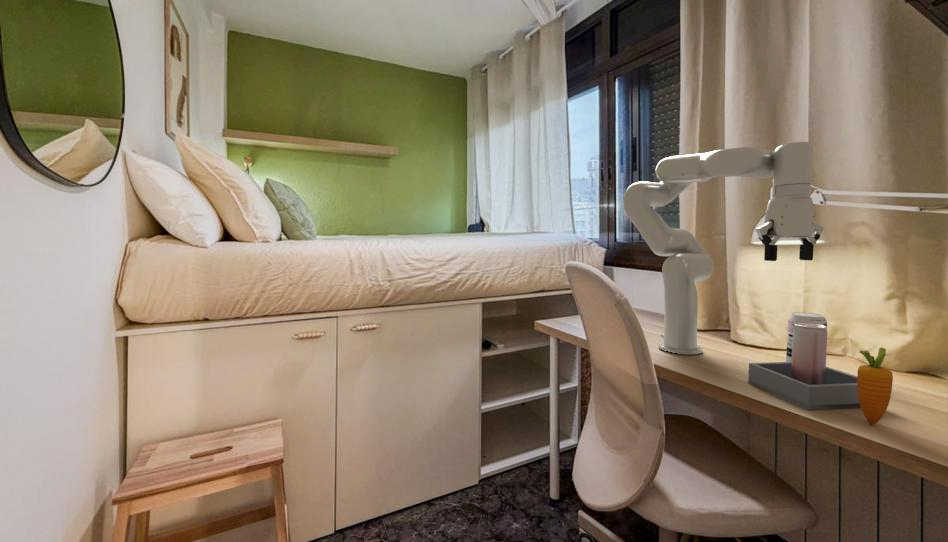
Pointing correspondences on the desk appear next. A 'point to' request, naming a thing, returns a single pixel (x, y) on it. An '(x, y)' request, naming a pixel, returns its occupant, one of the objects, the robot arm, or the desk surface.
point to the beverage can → (809, 353)
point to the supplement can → (801, 318)
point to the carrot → (874, 387)
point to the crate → (806, 387)
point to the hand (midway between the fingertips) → (788, 260)
